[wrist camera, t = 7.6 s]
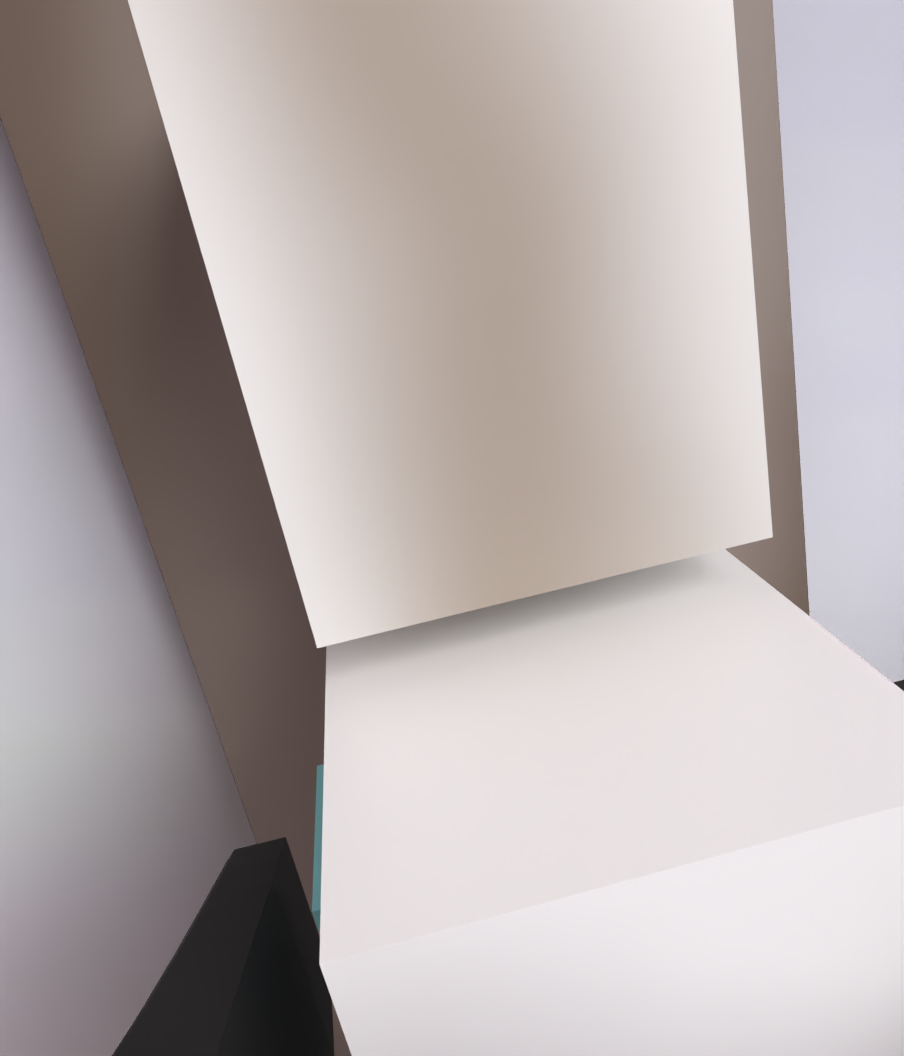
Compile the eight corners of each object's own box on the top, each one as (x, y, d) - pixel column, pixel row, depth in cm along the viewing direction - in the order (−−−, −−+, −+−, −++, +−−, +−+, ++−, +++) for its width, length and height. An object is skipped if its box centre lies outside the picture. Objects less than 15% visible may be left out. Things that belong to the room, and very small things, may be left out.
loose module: (656, 494, 13) (1009, 775, 6) (690, 744, 14) (1000, 1186, 7) (314, 578, 12) (290, 971, 6) (387, 824, 14) (433, 1357, 7)
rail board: (702, -231, 11) (1013, -630, 6) (801, 1028, 20) (971, 1316, 14) (-36, -90, 11) (-381, -400, 6) (384, 1144, 19) (403, 1487, 14)
